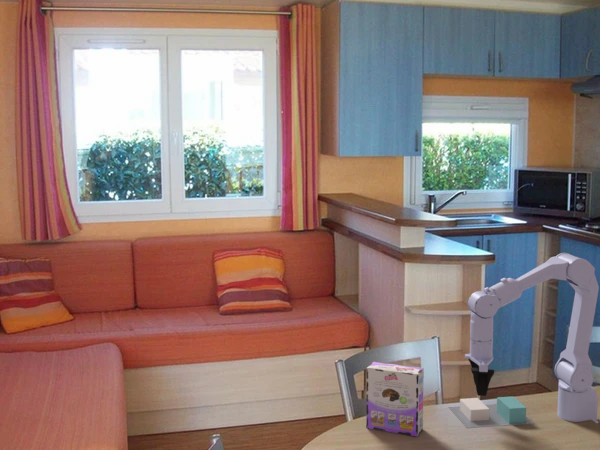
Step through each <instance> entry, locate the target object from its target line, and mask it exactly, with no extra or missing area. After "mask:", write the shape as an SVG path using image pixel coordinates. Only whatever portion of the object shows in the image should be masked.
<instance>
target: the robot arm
mask: <svg viewBox="0 0 600 450" xmlns="http://www.w3.org/2000/svg"><path fill="white" fill-rule="evenodd" d="M595 271H596V267H595V266H593V264H591V263H590V261H588V259H585V258H582V257H581V258H580V257H579V256H576V255H572V254H571V253H568V252H561V253H558V254H557V255H556V256H551V257H550V258H549V259H547V260H546V261H545V262H544V263H541V264H540V265H538V266H536V267H535V268H532V269H531V270H530V271H528V272H526V273H524V274H523V275H521V276H519V277H517V278H512V277H508V278H506V277H503V278H501V279H500V282H497V283H496V284H494V285H492V286H490V287H488V286H486V287H484V288H483V291H482V290H481V291H480V290H477V291H475V292H473V293H471V295H470V296H469V298H468V300H467V301H466V305H467V308H468V310H469V311H470V320H469V353H465V354H464V359H467V360H468V362H469V364H470V366H471V367H470V371H471V374H472V378H473V382H474V385H475V391H476V394H477V396H479V397H480V396H482V397H487V394H488V390H489V385H490V382H491V380H492V378H493V377H494V375H495V370H494V369H489V365H490V364H491V363H492V362H493V360H494V355H493V352H494V351H493V350H494V316H495V315H496V314H497V312H498V310H500V308H503V307H504V306H507V305H508V304H510V303H512V302H514V301H516V300H518V299H520V298H521V297H522V295H523V291H526V290H528V289H531V288H532V287H535V286H537V285H539V284H540V285H541V283H543V282H546V281H549V280H551V279H554V280H560V281H566V282H567V283H568V284H569V285H570V286H571V287H572V289H573V290H574V292H575V293H574V299H573V303H572V311H571V316H570V323H569V330H568V335H567V341H566V346H565V347H566V348H565V349H564V350H563V351H561V352H560V354H559V358H558V360H557V362H556V363H555V366H554V374H555V376H556V378H557V379H558V391H557V410H556V411H557V413H556V415H557V417H558V418H559V419H561V420H562V421H566V422H567V421H568V422H572V423H574V422H575V423H577V422H578V423H579V422H585V421H593V422H594V423H596V425H598V424H599V421H598V407H599V398H598V394H597V390H596V388H594V387H593V386H592V385H593V382H594V374H593V371H592V370H593V362H592V360H591V359H590V356H589V349H590V343H591V339H592V331H593V326H594V325H593V324H594V319H595V314H596V307H597V301H598V296H599V288H600V287H599V283H598V281H597V277H596V274H595Z"/></svg>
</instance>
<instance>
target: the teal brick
mask: <svg viewBox="0 0 600 450" xmlns="http://www.w3.org/2000/svg"><path fill="white" fill-rule="evenodd" d="M496 404H497V412H498V413H499V414H500V415H501V416H502V417H503V418H504V419H505V420H506V421H507V422H508V423H509V424H510V423H525V422H526V417H527V407H526V406H525V405H524V404H523V403H521V401H520V400H518V399H517V398H516V397H515V396H499V397H496Z"/></svg>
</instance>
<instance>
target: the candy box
mask: <svg viewBox="0 0 600 450" xmlns="http://www.w3.org/2000/svg"><path fill="white" fill-rule="evenodd" d="M365 371H366V373H365V374H366V379H365V380H366V382H365V383H366V385H365V386H366V387H365V389H366V390H365V391H366V395H365V396H366V402H365V403H366V412H365V413H366V426H365V428H366V429H368V428H369V429H370V430H376V431H381V432H387V433H388V432H389V433H393V434H394V433H395V434H401V435H404V436H405V435H407V436H413V437H418V436H419V434H420V433H421V432H422V430H424V372H425V371H424V367H417V366H409V365H402V364H401V365H400V364H395V363H393V364H392V363H385V362H378V361H372V362H371V364H369V365H368V366H367V367H366V369H365Z"/></svg>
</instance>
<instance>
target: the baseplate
mask: <svg viewBox="0 0 600 450" xmlns="http://www.w3.org/2000/svg"><path fill="white" fill-rule="evenodd" d="M447 408H448V409H449V410H450V411H451V413H452V414H453V415H454V416H455V417H456V418H457V419H458V420H459V421H460V422H461V424H462V425H463V426H464V427H465V428H466V429H473V428H490V427H491V428H492V427H504V426H505V427H506V426H520V425H534V422H533V421H531V419H529V418H528V417H527V416H526V422H525V423H510V424H509V423H508V422H507V421H506V420H505V419H504V418H503V417H502V416H501V415H500V414H499V413H498V412H497V403H496V404H485V403H484V402H483V401H482V400H480V398H479V397H471V398H467V397H466V398H459V406H451V407H449V406H448V407H447Z"/></svg>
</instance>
